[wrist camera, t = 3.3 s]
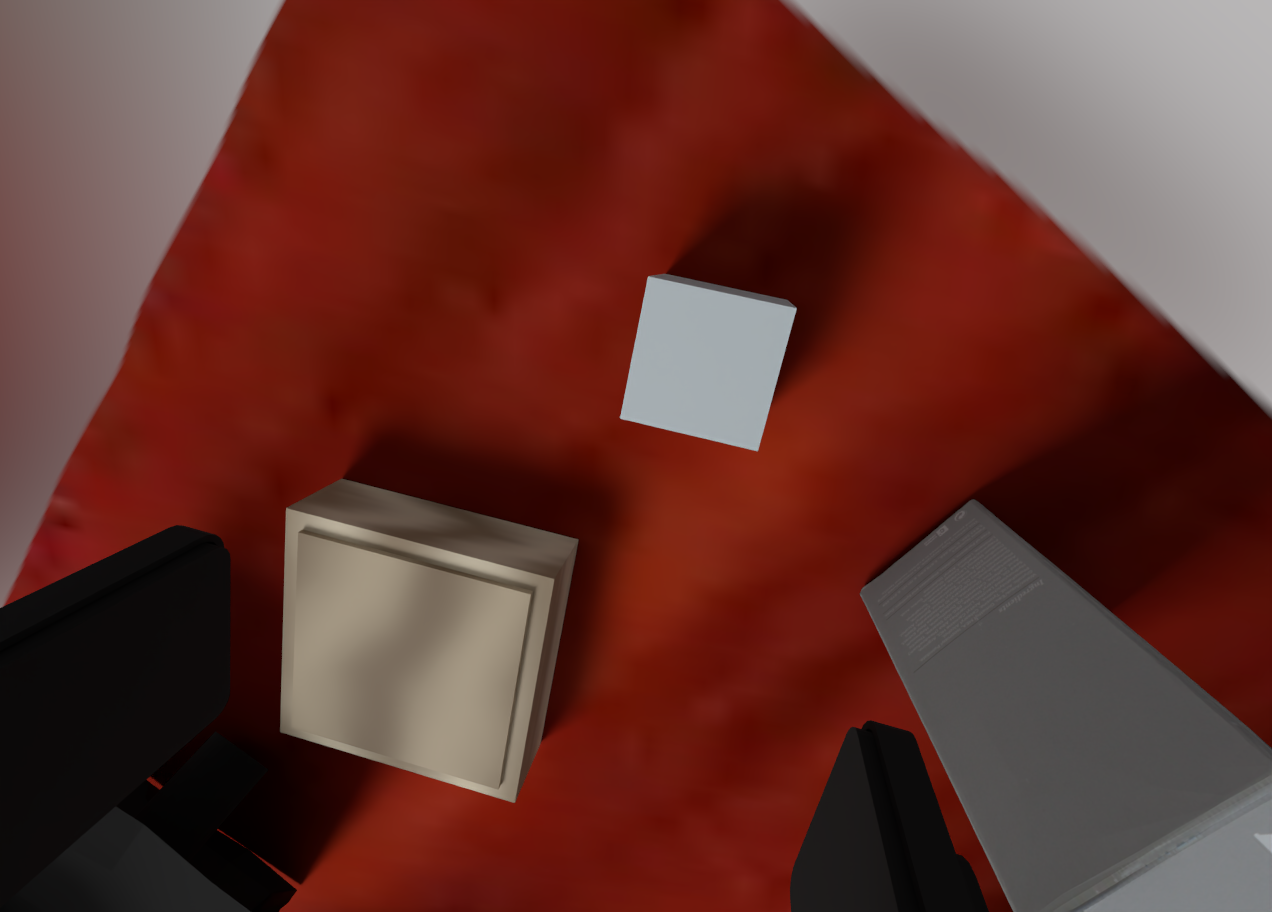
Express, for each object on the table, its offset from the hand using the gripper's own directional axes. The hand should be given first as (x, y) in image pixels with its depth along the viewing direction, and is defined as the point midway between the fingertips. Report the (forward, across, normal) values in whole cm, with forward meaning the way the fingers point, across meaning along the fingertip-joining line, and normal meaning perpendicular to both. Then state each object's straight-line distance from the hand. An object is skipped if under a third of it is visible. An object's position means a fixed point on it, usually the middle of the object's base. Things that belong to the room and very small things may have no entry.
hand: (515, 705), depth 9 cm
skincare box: (+20, -15, +5) cm, 25 cm away
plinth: (+19, +8, +13) cm, 25 cm away
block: (+20, -1, -3) cm, 20 cm away
